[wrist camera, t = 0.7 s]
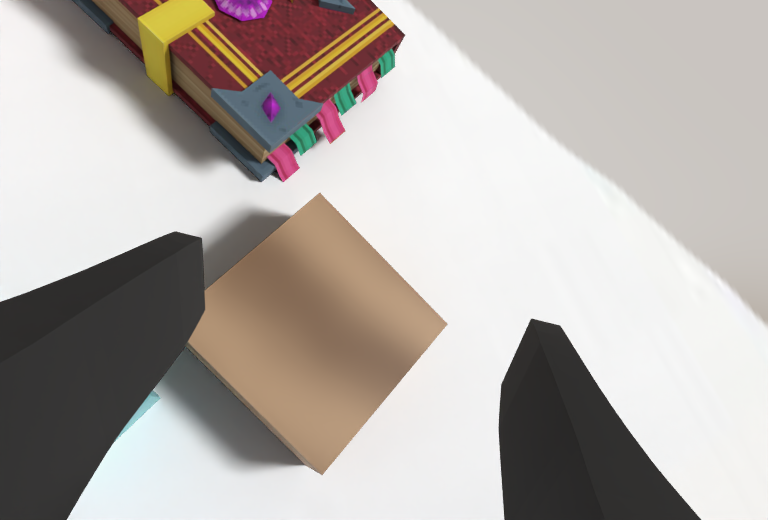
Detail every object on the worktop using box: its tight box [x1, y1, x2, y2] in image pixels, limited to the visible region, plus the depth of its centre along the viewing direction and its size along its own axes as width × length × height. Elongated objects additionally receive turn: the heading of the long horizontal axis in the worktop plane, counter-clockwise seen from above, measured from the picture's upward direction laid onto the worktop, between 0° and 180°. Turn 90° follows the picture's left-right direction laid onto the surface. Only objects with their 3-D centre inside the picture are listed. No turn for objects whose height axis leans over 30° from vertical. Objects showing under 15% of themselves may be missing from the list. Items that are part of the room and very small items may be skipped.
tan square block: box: [186, 193, 447, 475], centre depth 24 cm, size 9×9×4 cm
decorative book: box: [73, 0, 405, 182], centre depth 27 cm, size 11×16×5 cm
